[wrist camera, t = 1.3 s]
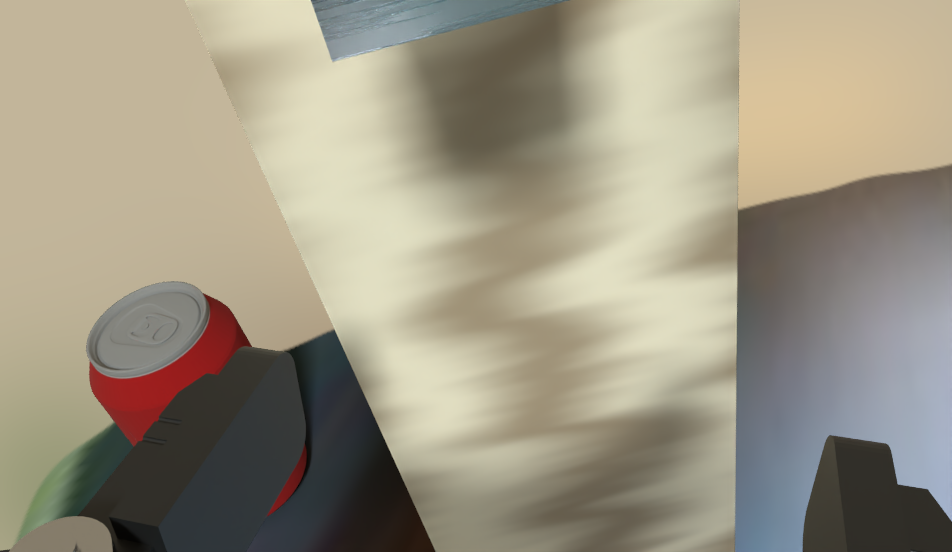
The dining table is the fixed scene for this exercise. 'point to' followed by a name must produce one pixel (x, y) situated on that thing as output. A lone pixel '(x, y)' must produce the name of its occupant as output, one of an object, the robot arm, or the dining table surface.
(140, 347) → the beverage can
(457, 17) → the gray block
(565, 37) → the beige patterned box
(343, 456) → the dining table surface
